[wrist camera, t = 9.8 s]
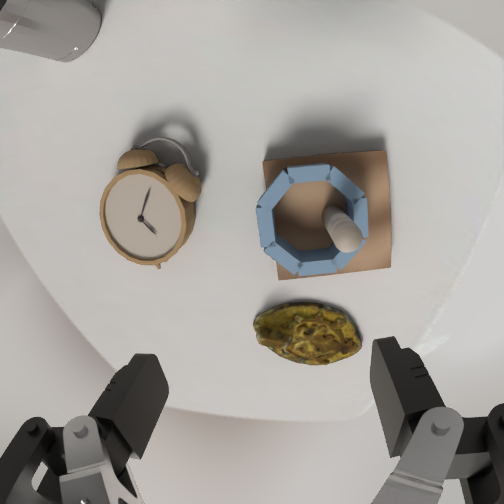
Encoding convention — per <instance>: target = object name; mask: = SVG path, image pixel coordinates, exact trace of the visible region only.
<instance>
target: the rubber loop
mask: <svg viewBox="0 0 504 504" xmlns="http://www.w3.org/2000/svg"><path fill="white" fill-rule="evenodd" d="M287 171H288V173H287V172H286V171H285V170H284V169H283V170H282V171H281V172H280V173H279V175H278V176H277V177H276V178H275V180H274V181H273V182H272V183H271V185H270V186H269V187H268V188H267V190H266V191H265V192H264V193H263V195H262V196H261V197H260V199H259V201H258V203H257V204H258V205H257V207H256V213H257V220H258V228H259V235H260V243H261V247H264V252H265V253H266V254H267V255H269V256H270V257H271V258H273V259H274V260H275V261H277V262H278V263H279V264H280V265H282V266H283V267H284V268H286V269H287V270H288V271H290V272H291V273H292V274H294V275H295V273H296V272H297V271H298V274H299V276H306V275H317V274H327V273H337V267H338V268H339V269H340V270H342V269H343V268H344V267H345V266H346V264H347V263H348V262H349V261H350V260H351V259H352V258H353V257H354V256H355V254H356V253H357V252H358V251H359V250H360V249H361V248H362V247H363V245H364V244H365V243H366V242H367V241H366V240H365V239H364V237H368V209H367V198H366V197H365V196H363V195H364V194H365V193H364V192H363V191H362V190H361V189H360V188H358V187H357V186H356V185H355V184H354V183H353V182H352V181H351V180H349V179H348V178H347V177H346V176H345V175H344V174H343V173H341V172H340V171H339V170H338V169H337V168H336V167H334V166H331V165H329V164H325V163H322V164H310V165H299V166H289V167H287ZM325 180H327V181H328V182H329V183H330V184H331V185H332V186H334V187H335V188H336V189H337V190H338V191H339V192H341V193H342V194H343V195H344V196H345V198H346V212H347V216H348V217H349V218H350V219H351V220H352V221H353V222H354V223H355V224H356V225H357V226H358V227H359V228H360V230H361V231H362V235H363V240H362V243H361V245H360V247H359V248H358V249H357V250H355V251H353V252H349V253H346V252H342V251H340V250H339V249H338V248H337V247H336V246H335V244H334V242H333V243H332V244H331V245H330V247H329V248H324V249H314V250H304V251H299V250H297V249H296V248H295V247H294V246H292V245H291V244H290V243H288V242H287V241H286V240H285V239H283V238H282V237H281V236H280V235H278V234H277V233H276V226H275V218H274V210H273V208H274V206H275V205H276V204H277V203H278V201H279V200H280V199H281V198H282V196H283V195H284V194H285V193H286V191H287V190H288V189H289V188H290V187H291V185H292V184H293V183H303V182H313V181H325Z"/></svg>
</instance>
